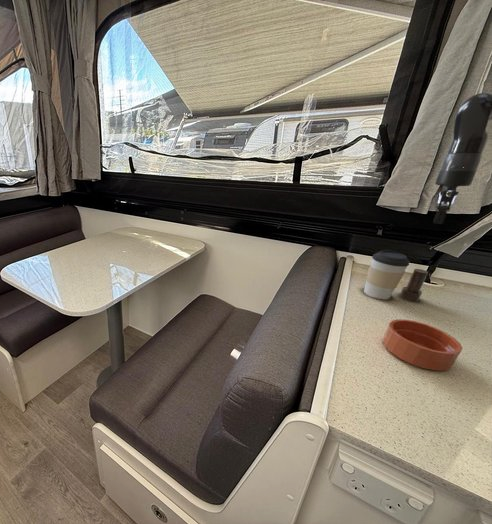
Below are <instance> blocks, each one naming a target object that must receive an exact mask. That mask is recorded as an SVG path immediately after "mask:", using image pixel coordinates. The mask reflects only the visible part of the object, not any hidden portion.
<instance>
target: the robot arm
mask: <svg viewBox="0 0 492 524" xmlns="http://www.w3.org/2000/svg"><path fill="white" fill-rule="evenodd" d="M489 121H492V93H490V92H479V93H476V94H473V95H472V96H471V95H470V96H469V97H468V98H467V99H465V100H464V101H463V102H462V104H460V106H459V108H458V109H457V112H456V114H455V118H454V125H453V134H452V139H451V141H450V145H449V147H448V150H447V153H446V156H445V157H444V159H443V161H442V164H441V166H440V169H439V172H438V175H437V177H436V179H435V185H436V186H445V188H446V189H445V188H444V189H445V190H444V189H443V190H440V191H439V194H438V199H437V202H436V210H435V211H436V212H435V215H434V218H433V221H432V223H433V224H434V225H435V224H436V225H442V224H444V222H445V220H446V216H447V215H448V212H450V209H451V207H453V205H454V203H455V202H456V199H457V197H458V196H459V194H460V192H459V191H457V188H459V187H470V186H471V185H472V184H473V181H474V178H475V175H476V173H477V170H478V168H479V165H480V163H481V160H482V156H483V152H484V150H485V148H486V144H487V142H488V139H489V132H488V131H487V127H488V124H489ZM463 167H464V168H463Z"/></svg>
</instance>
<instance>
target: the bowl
mask: <svg viewBox="0 0 492 524" xmlns="http://www.w3.org/2000/svg"><path fill="white" fill-rule="evenodd" d="M382 344H383V345H384V347H385V349H387V350H388V351H389V352H391V354H393V355H394V356H395V357H397V358H399V359H400V360H402V361H403V362H406V363H408V364H411V365H413V366H416V367H419V368H422V369H427V370H431V371H447V370H451V369H452V368H453V365H454V364H455V362H456V360H457V359H458V357H459V356H460V354H461V352H462V350H463V346H462V343H460V341H459V340H457V339H456V338H455V336H453V335H451V334H450V333H448V332H445V331H444V330H442V329H440V328H438V327H436V326H432V325H430V324H427V323H424V322H421V321H417V320H410V319H394V320H391V321H390V322H389V323H388V325H387V327H386V330H385V332H384V334H383V336H382Z"/></svg>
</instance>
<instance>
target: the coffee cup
mask: <svg viewBox="0 0 492 524" xmlns="http://www.w3.org/2000/svg"><path fill="white" fill-rule="evenodd" d="M371 258H372V259H371V262H370V265H369V269H368V273H367V276H366V281H365V282H366V283H365V286H364V290H363V293H364V294H365V295H367V296H369V297H371V298H374V299H378V300H389V299H390V298H391V297H392V295H393V293H394V292H395V289H397V287H398V285H399V283H400V282H401V280H402V278H403V276H404V274H405V273H406V269H407V268H408V266H410V262H411V260H409V259H408V257H407V256H406V255H405V254H403V253H400V252H397V251H394V250H392V249H383V250H379V252H375V253H373V255H372V257H371Z"/></svg>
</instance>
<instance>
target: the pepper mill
mask: <svg viewBox="0 0 492 524" xmlns="http://www.w3.org/2000/svg"><path fill="white" fill-rule="evenodd" d="M428 274H429V272H428V271H427V270H425V269H422V268H414V269H413V272H412V273H411V276H410V278H409V279H408V280H409V281H408V282H407V284H406V286H403V287H402V289H401V291H400V293H399V297H400V298H401V299H403V300H405V301H409V302H414V303H415V302H417V303H418V301H419V300H420V298H421V296H422V294H423V292H422V290H421V289H422V287H423V285H424V283H425V280H426V278H427V277H428Z"/></svg>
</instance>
